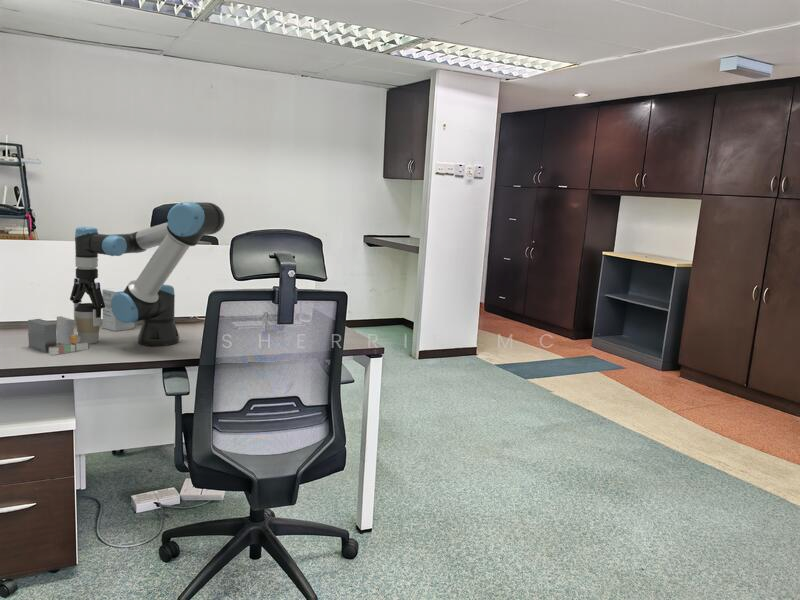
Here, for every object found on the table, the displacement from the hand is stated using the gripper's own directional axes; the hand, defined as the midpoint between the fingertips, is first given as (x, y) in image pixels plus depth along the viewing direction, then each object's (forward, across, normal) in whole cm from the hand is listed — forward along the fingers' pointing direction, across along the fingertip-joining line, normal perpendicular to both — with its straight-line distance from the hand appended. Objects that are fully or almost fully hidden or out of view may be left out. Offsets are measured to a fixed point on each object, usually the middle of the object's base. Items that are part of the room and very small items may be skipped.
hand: (87, 322), depth 234 cm
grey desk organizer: (+7, -3, +12) cm, 15 cm away
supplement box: (+8, +14, -21) cm, 26 cm away
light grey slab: (+7, -3, +9) cm, 12 cm away
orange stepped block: (+4, -10, +10) cm, 15 cm away
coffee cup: (+8, 0, 0) cm, 8 cm away
